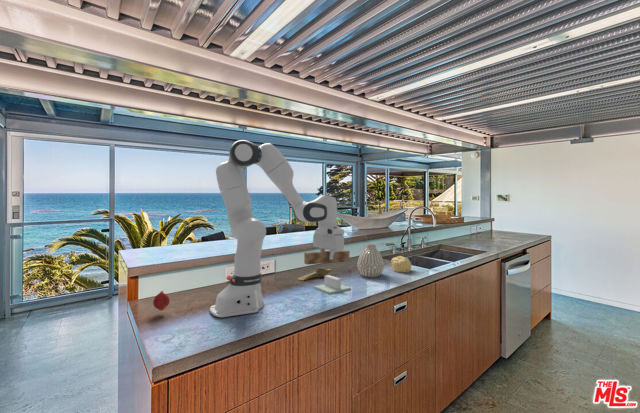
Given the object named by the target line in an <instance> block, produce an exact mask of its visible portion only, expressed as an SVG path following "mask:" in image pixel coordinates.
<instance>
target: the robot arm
mask: <svg viewBox="0 0 640 413" xmlns="http://www.w3.org/2000/svg"><path fill="white" fill-rule="evenodd" d="M228 154H229V156H228V157H229V158H228V160H227V161H225V162H222V163H220V164H219V165H217V167H216V169H215V176H216V181H217V185H218V188H219V192H220V194H221V197H222V201H223V203H224V206H225V209H226V214H227V219H228V223H229V226H230V231H231V234H232V236H233V237H234V238H235V239H236V240H237V244H236V245H237V246H236V249H235V250H236V251H235V254H234V258H233V259H234V274H233V275H230V274H228V275H227V276H226V280H227V281H229V284H228V285H227V286H226V287H225V288H223V289H222V290H221V291H220V292H219V293H218V294H217V295H216V300H215V303H214V304H213V305H211V306H210V307H209V312H210V313H211V314H212V316H215V317H218V318H227V317H234V316H239V315H247V314H254V313H258V312H259V311H260V309H262V308H264V306H265V303H264V300H263V295H262V282H263V281H262V279H263V278H262V272H261V256H262V255H261V254H262V250H263V244H264V239H265V237H266V235H267V229H266V228H267V227H266V226H265V224H264V223H263V222H262V221H261V220H260V219H259V218H255V217H254V215H253V209H252V208H253V207H252V198H251V196H250V193H249V189H248V187H247V184H246V181H245V177H244V170H245V169H246V168H249V167H251V166H252V165H257V166H259V167H260V169H261V170H262V171H263V172H264V173H265V175H266V176H267V177H268V178H269V180H270V181H271V182H272V183H273V184H274V185H275V187H277V189H278V190H279V191H280V192H281V194H282V195H283V196H284V198H285V200H287V202H288V203H289V205H290V207H291V209H292V213H293V217H295V219H296V220H297V221H298V222H300V223H309V224H310V223H317V222H318V223H317V224H318V228H316V229H315V230H314V233H313V237H312V246H313V247H315V248H319V250H320V251H319V252H322V251H326V250H328V251H330V255H328V259H330V260H332V259H333V255H334V253H335V251H343V250H344V248H345V237H344V234H345V230H344V229H343V228H342V227H340V226H339V225H338V221H337V216H338V204H337V203H338V202H337V199H336V197H334V196H332V195H328V194H327V195H326V194H322V195H320V196H318V197H317V198H315V199H312V200H311V201H305V200H304V199H303V198H302V197H301V195H300V194H299V193H298V191H297V189H296V188H295V186H294V183H293V179H294V170H293V168H292V165H291V164H290V162H288V160H287V158H286V157H285V156H284V155H283V154H282V153H281V151H280V150H279V149H278V148H277V147H276V146H274V144H272V143H269V142H268V143H267V142H266V143H263V144H260V145H258V144H255V143H254V142H251V141H249V140H245V139H241V140H237V141H235V142H233V143H232V145H231V146H230V149H229V153H228Z"/></svg>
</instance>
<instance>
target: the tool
mask: <svg viewBox="0 0 640 413" xmlns="http://www.w3.org/2000/svg"><path fill="white" fill-rule="evenodd" d="M332 271H333V269H331V268H328V269H327V268H319V269H318V268H317V269H316V270H315V271H314V272H311V273H307V274H305V275H302V276H300V277H298V278H297V280H298V281H306V280H311V279H314V278H324V276H326V275H327V274H328V275H329V273H330V272H332Z"/></svg>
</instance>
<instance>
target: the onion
mask: <svg viewBox="0 0 640 413" xmlns="http://www.w3.org/2000/svg"><path fill="white" fill-rule="evenodd" d="M152 304H153V307H154V308H155V309H157V310H158V311H164V310H165V309H166V308H167V307H168V306H169V304H170V297H169V295H167V294H166V293H165V292H164V291H163V290H161V291H160V292H159V293H157V295H156V296H155V297H154V299H153V302H152Z"/></svg>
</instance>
